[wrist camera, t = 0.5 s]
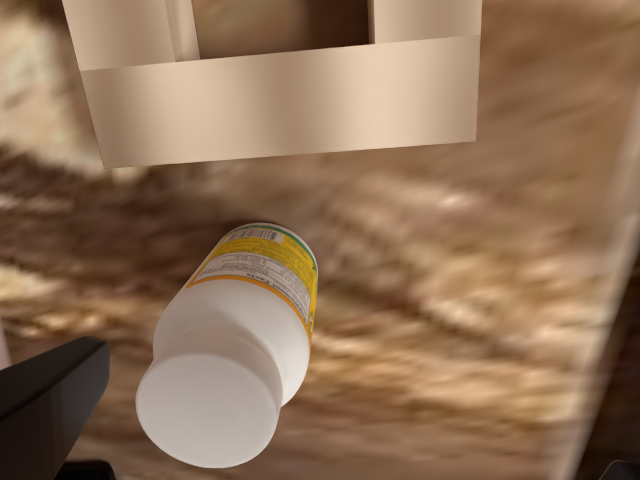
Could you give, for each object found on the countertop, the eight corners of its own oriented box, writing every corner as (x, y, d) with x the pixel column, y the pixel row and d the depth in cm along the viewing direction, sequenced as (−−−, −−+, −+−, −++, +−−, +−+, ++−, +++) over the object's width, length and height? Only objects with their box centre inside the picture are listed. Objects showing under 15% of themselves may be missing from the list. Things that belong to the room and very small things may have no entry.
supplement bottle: (264, 197, 19) (198, 289, 10) (342, 276, 20) (344, 422, 11) (188, 268, 21) (70, 406, 12) (265, 338, 22) (212, 513, 13)
